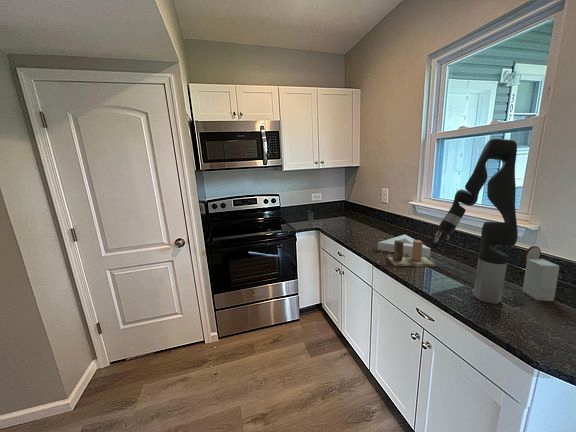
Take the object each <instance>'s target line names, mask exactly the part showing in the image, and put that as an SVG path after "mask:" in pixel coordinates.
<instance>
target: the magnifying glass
mask: <svg viewBox="0 0 576 432" xmlns="http://www.w3.org/2000/svg"><path fill="white" fill-rule="evenodd" d="M541 254H542V251H541V248H540V247H539V246H537V245H532V246H530V247H528V248H527V249H526V250H525V253H524V256H523V258H524V259H523V260H524V262H525V264H526V263H527V259H541V258H540V257H541Z"/></svg>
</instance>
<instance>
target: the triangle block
mask: <svg viewBox="0 0 576 432" xmlns="http://www.w3.org/2000/svg"><path fill="white" fill-rule="evenodd" d="M395 240H401V241H402V242H404V243H403V255H406V254H408V255H412V250H413V240H415V238H412V237H411V236H408V235H407V234H402V235H399V236H396V237H391V238H388V239H385V240H382V241H377V251H378V250H383V251H390V252H389V253H391V252H394V244H395ZM383 251H382V252H383ZM422 255H425V257H426V258H428V259H430V257H431V247H428V246H426V245H425V244H422Z"/></svg>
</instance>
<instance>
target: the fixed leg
mask: <svg viewBox="0 0 576 432" xmlns="http://www.w3.org/2000/svg"><path fill="white" fill-rule="evenodd" d="M403 243H404V242H402V241H401V240H395V244H394V253H393V254H392V255H393V257H394V259H395V260H396V261H402V257H403V255H404V254H403Z"/></svg>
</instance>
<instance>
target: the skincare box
mask: <svg viewBox="0 0 576 432" xmlns="http://www.w3.org/2000/svg"><path fill="white" fill-rule="evenodd" d="M559 271H560V265H558V264H556V263H553V262H551V261H549V260H546V259H544V258H539V259H527V263H525V272H524V278H523V286H522V292H523V293H524V294H526V295H528V296H530V297H531V298H533V299H534V300H536V301H540V302H542V301H544V302H554V300H555V295H556V290H557V285H558V277H559Z"/></svg>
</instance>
